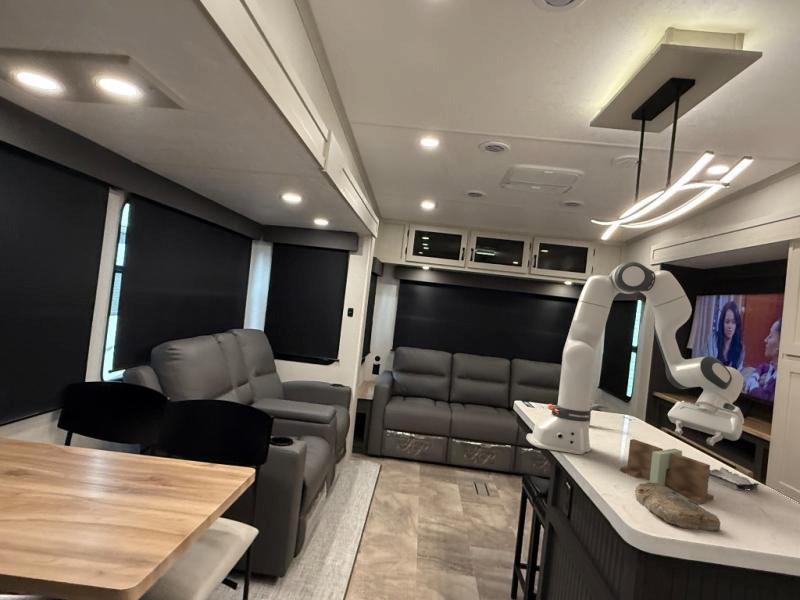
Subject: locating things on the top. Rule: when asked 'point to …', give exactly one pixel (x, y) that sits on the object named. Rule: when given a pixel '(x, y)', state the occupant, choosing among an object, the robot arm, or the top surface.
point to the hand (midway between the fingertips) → (692, 438)
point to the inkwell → (597, 406)
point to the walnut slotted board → (671, 471)
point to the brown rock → (675, 507)
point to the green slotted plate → (661, 464)
